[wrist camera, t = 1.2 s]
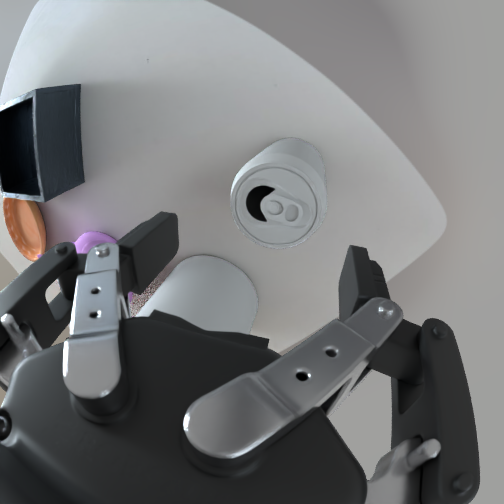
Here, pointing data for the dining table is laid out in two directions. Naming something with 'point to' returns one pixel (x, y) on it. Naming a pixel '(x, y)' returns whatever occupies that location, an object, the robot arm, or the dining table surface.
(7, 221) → the saucer
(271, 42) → the dining table surface
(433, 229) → the dining table surface
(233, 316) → the cylinder vase
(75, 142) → the dark gray open box
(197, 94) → the dining table surface
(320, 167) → the beverage can
